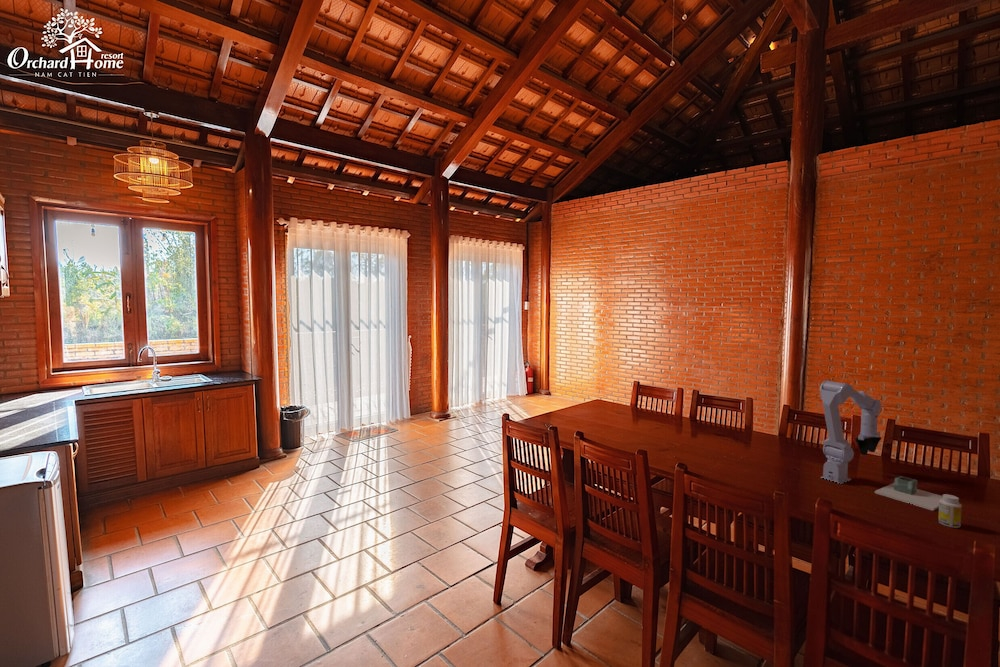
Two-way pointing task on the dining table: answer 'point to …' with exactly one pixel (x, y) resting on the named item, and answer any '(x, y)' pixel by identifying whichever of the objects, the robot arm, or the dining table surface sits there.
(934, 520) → the dining table surface
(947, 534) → the dining table surface
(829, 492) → the dining table surface
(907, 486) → the collar
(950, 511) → the supplement bottle
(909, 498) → the pin plate
